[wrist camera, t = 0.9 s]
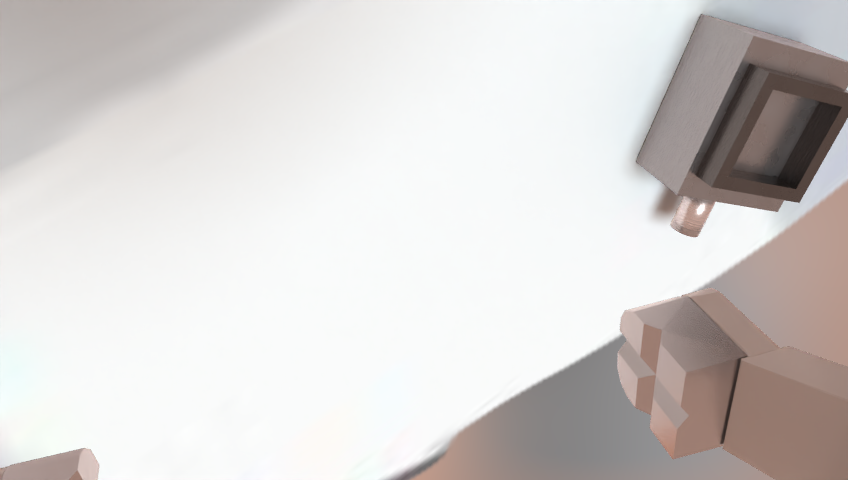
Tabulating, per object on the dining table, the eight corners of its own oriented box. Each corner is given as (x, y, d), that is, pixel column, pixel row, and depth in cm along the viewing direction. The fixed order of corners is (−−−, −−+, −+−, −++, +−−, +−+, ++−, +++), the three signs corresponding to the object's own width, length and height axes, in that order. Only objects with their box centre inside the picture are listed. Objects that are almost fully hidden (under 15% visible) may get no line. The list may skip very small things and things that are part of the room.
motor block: (701, 13, 53) (773, 44, 47) (800, 42, 57) (880, 74, 50) (616, 205, 60) (668, 254, 54) (709, 219, 64) (769, 268, 57)
